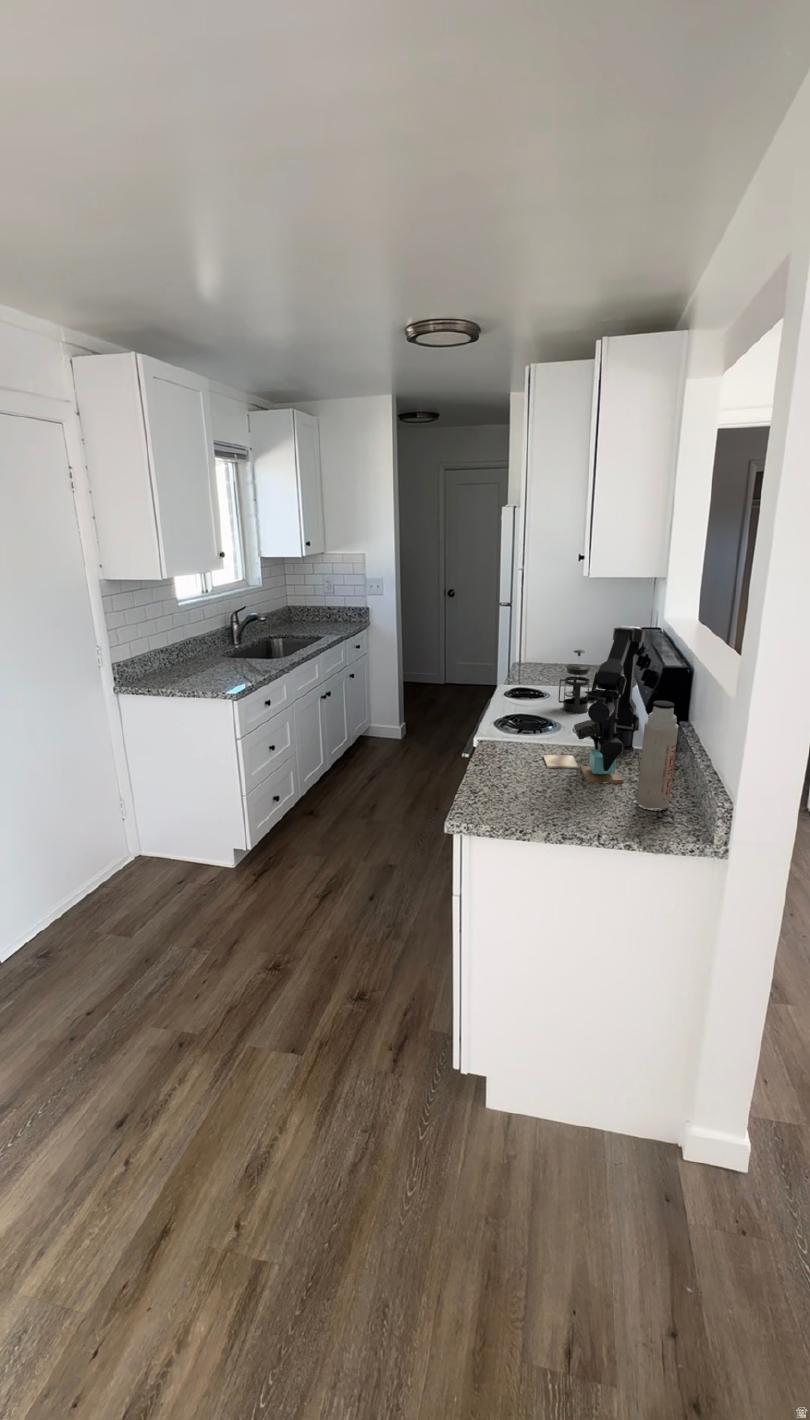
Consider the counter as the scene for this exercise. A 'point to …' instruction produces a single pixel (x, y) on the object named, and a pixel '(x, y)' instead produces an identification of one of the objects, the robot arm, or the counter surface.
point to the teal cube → (599, 763)
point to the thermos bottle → (658, 756)
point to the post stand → (600, 776)
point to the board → (560, 761)
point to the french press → (575, 688)
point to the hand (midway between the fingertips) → (602, 764)
